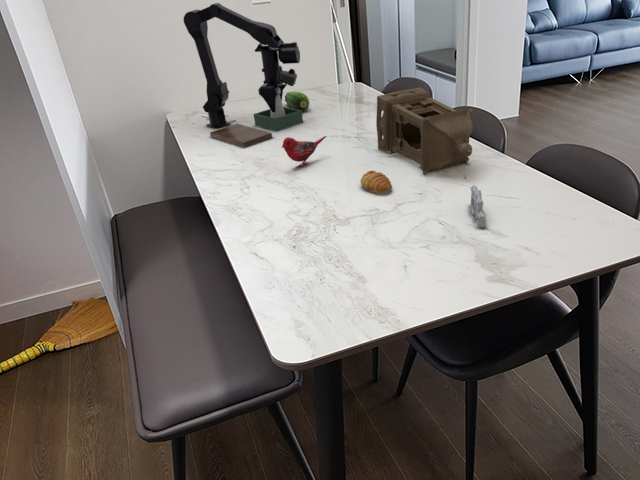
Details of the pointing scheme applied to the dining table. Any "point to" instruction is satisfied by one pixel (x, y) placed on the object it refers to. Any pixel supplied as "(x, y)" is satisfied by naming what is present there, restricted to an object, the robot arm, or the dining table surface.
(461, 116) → the brown lantern
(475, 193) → the garden wall model
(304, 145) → the decorative bird figurine
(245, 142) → the serving board
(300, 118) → the green square tray
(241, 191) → the dining table surface
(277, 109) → the salt shaker
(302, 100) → the vegetable
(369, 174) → the pastry
